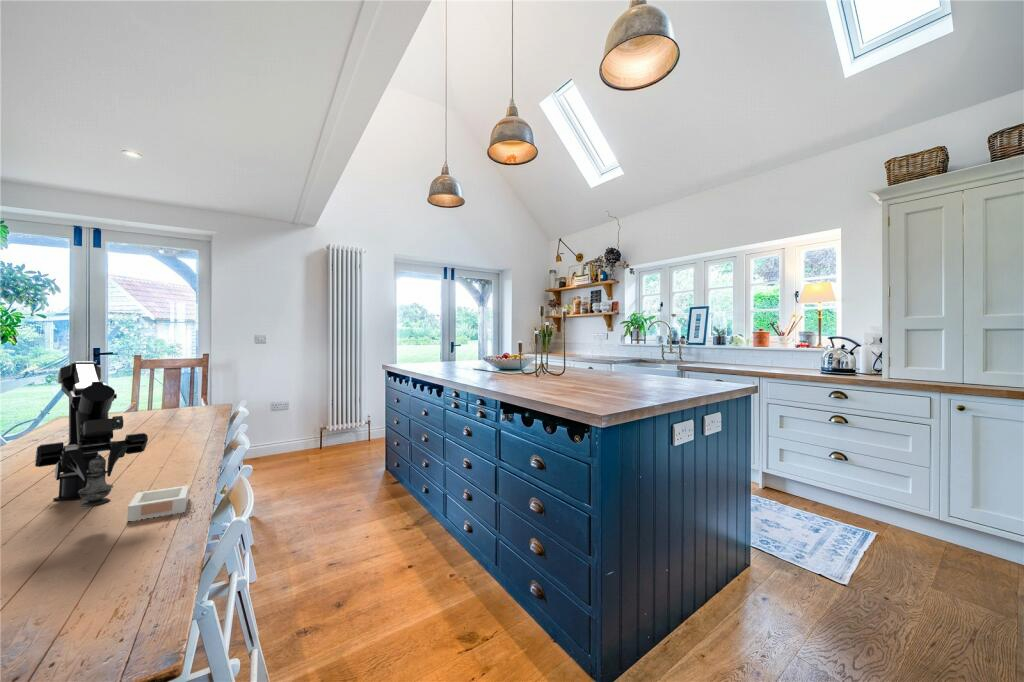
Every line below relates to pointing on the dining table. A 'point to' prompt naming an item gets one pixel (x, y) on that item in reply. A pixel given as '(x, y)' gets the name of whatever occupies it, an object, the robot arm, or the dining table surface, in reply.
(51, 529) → the dining table surface
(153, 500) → the tagged holder
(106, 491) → the dark chess piece
